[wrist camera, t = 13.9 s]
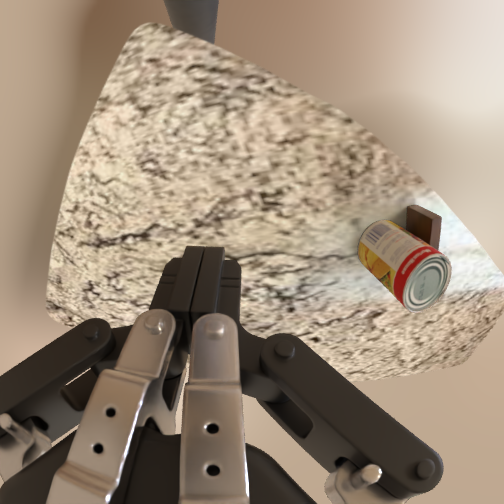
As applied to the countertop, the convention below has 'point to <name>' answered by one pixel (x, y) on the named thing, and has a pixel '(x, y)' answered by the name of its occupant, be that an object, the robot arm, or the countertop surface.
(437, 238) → the brown rectangular block
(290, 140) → the countertop surface
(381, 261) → the canned food
